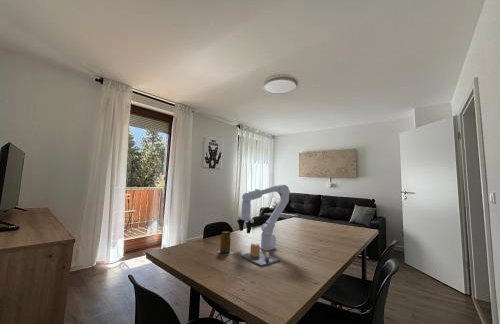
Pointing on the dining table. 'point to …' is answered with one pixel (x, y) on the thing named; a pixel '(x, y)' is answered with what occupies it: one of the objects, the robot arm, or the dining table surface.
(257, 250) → the knob
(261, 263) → the hub plate
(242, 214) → the robot arm
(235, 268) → the dining table surface
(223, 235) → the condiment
